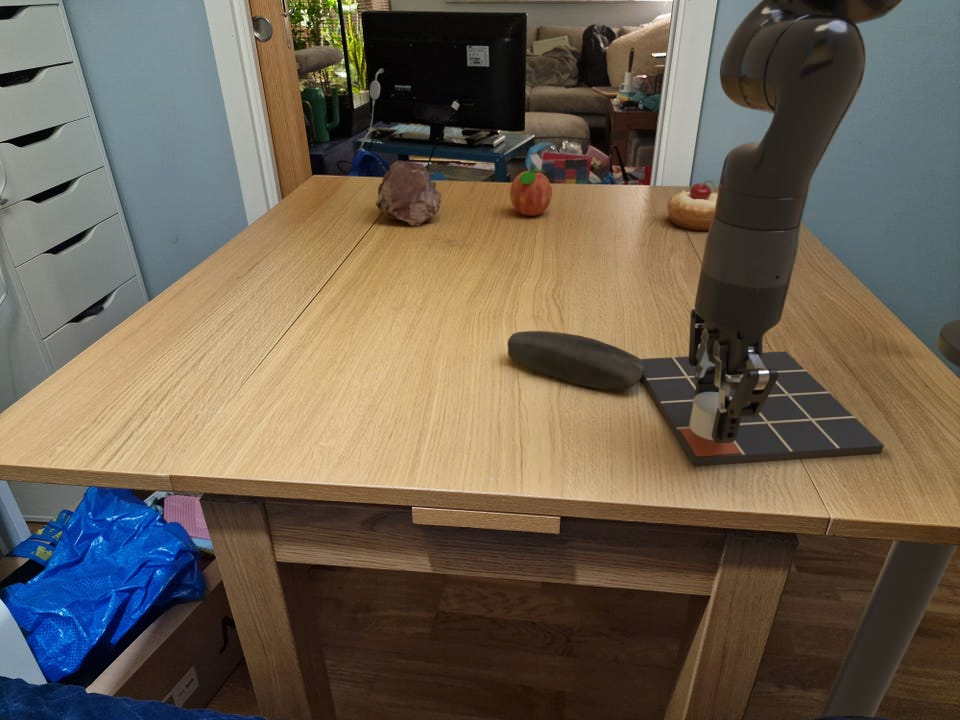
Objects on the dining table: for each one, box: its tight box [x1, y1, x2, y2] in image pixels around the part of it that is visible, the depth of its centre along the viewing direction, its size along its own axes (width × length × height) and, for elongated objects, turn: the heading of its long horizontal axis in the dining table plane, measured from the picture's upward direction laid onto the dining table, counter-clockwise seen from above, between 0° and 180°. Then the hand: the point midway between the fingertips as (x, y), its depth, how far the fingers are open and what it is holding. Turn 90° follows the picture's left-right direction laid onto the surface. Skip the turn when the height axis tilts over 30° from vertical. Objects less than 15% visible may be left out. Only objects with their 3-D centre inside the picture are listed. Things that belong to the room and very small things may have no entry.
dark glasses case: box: [507, 330, 645, 390], centre depth 81 cm, size 17×6×4 cm, turn 66°
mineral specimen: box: [375, 160, 442, 227], centre depth 134 cm, size 12×13×15 cm
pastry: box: [667, 180, 718, 232], centre depth 131 cm, size 12×12×9 cm
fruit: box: [509, 164, 553, 217], centre depth 136 cm, size 9×10×10 cm
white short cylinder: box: [689, 392, 732, 440], centre depth 66 cm, size 4×4×3 cm
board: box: [640, 350, 885, 467], centre depth 75 cm, size 20×20×1 cm
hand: (712, 425), depth 67 cm, fingers closed on white short cylinder, 4 cm apart
